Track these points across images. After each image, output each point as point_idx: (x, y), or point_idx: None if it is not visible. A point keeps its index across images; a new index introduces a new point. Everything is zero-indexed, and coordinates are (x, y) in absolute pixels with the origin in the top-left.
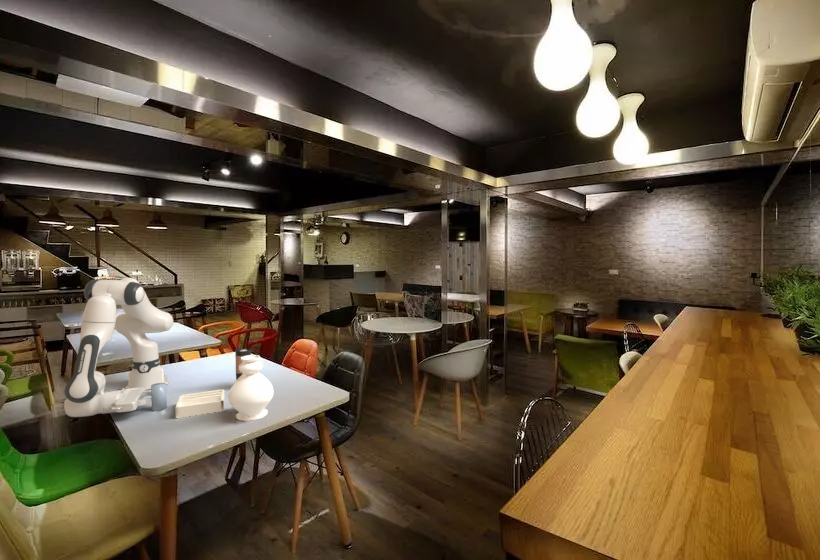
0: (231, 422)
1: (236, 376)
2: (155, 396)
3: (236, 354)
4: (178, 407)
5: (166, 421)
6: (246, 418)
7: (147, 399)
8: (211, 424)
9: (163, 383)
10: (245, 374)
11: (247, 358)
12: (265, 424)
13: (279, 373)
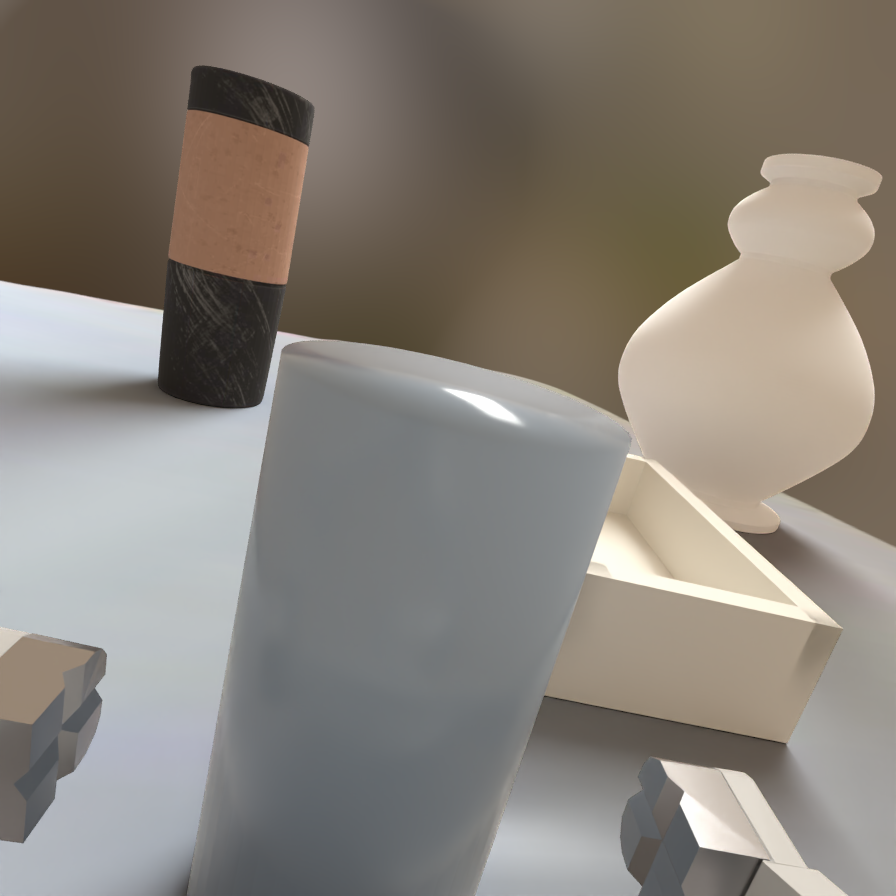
0: (804, 554)
1: (227, 306)
2: (548, 678)
3: (266, 115)
4: (823, 612)
5: (882, 829)
6: (771, 513)
7: (783, 832)
8: (853, 606)
9: (395, 354)
10: (830, 273)
11: (787, 174)
12: (805, 510)
13: (96, 310)
